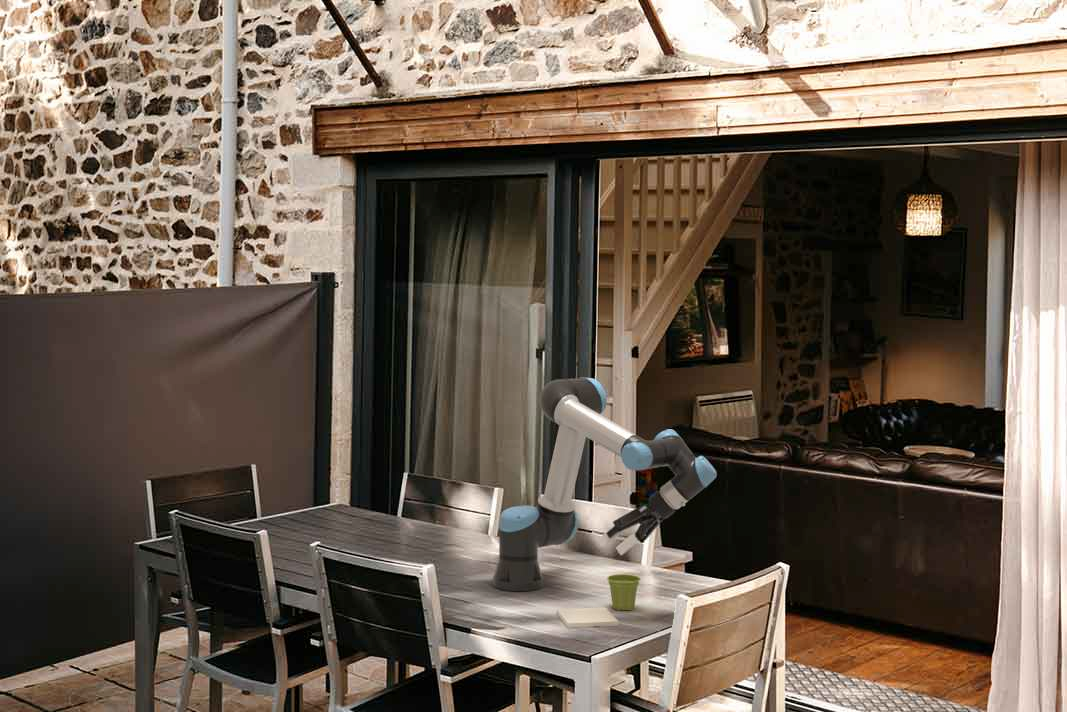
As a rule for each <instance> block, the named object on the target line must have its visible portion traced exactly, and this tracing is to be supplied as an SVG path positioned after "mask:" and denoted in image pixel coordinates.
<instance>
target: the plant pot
mask: <svg viewBox="0 0 1067 712" xmlns="http://www.w3.org/2000/svg"><path fill="white" fill-rule="evenodd" d="M606 579H607V581H608V584H609V589H610V595H611V596H610V597H611V606H612V609H614V610H616V611H621V610H622V611H625V610H628V611H631V610H632V611H633V610H634V608H635V605H636V597H637V590H638V586H639V583H640V581H641V578H640V577H639V576H638V575H635V574H626V573H624V574H623V573H622V574H620V573H618V574H611V575H608V576H607V577H606Z"/></svg>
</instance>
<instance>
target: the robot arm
mask: <svg viewBox="0 0 1067 712" xmlns="http://www.w3.org/2000/svg"><path fill="white" fill-rule="evenodd" d="M607 397H608V396H607V393H606V390H604V386H603V384H602V383H600V381H598V380H597V379H596V378H592V377H583V376H582V377H578V378H575V377H574V378H565V379H563V378H562V379H554V380H552V381H549V382H548V383H547V384H546V385H544V387H543V388H542V389H541V391H540V394H539V401H538V403H539V407H540V410H541V411H542V413H543V415H544V416H545V417H546V418H548V419H549V420H550V421H551V422H554V424H557V425H558V430H557V435H556V440H555V445H554V449H553V454H552V459H551V462H550V466H549V471H548V475H547V476H548V477H547V481H546V485H545V489H544V494H542V495H541V496H539V498H538V499H537V503H536V507H535V506H532V505H520V506H519V505H517V506H511V507H509V508H506V509H504V510H503V511H502V512H501V514H500V517H499V524H498V528H499V529H498V530H499V539H498V541H499V542H498V543H499V544H498V545H499V549H498V550H499V551H498V557H499V558H498V562H497V566H496V569H495V571H494V575H493V578H492V579H493V580H492V585H493V587H494V588H496V589H499V590H502V591H509V592H510V591H511V592H529V591H535V590H539V589H541V588H542V587H543V586H544V584H543V583H544V577H543V574H542V571H541V567H540V563H539V559H538V555H539V553H538V552H539V551H538V550H539V548H543V547H544V548H546V547H549V546H553V545H554V546H557V545H558V546H559V545H562V544H564V543H567V542H569V541H570V540H572V539H573V538H574V537H576V534H577V532H578V529H579V522H580V521H579V520H580V519H579V518H578V513H577V511H576V508H575V505H574V502H573V501H572V498H573V495H574V491H575V486H576V481H577V477H578V473H579V469H580V464H581V461H582V455H583V451H584V447H585V443H586V438H587V439H589V440H591V441H592V442H594V443H596V444H597V445H599V446H601V447H603V448H605V449H606V450H608V451H609V452H612V453H613V454H614V455H616V456H617V457H620V458H621V461H622V463H623V464H624V466H625V468H626V469H628V470H630V471H644V470H648V469H653V468H654V469H655V468H660V467H668V468H669V469H670V471H672V474H674V475H675V476H674V477H673V478H671V479H670V480H669V481H667V482H666V483H665V484H663V485H662V486H661V487H660V488H659V490H657V491H655V492H653V494H652V495H651V496H649V497H648V501H649V505H646V504H645V503H642V504H640V505H639V506H638V507H636V508H634V509H632V510H631V511H629V512H627V513H626V514H623V515H622V516H620V517H618V518H617V519H615V520H613V522H612V523H613V526H612V527H610V529H608V530H607V531H606V532H604V533H603V534H602V535H601V536H600V537H598V538H597V543H598V544H599V545H600V547H601V548H602V549H604V548H605V547H606V546H607V545H609V544H610V543H611V542H613V540H615V539H616V538H617V537H618V536H620V535H621V534H622V532H623V531H625V530H627V529H630V528H632V527H634V526H637V525H639V526H638V528H637V530H636V531H635V533H632V534H630V535H629V536H628V537H627V538H625V539H624V540H622V542H621V543H619V544H618V545H617V546H616V547H615V549H616V551H617V552H618V554H619V555H620V556H623V555H624V554H625V553H627V552H628V551H629V550H630V549H632V547H634V546H636V544H638V543H639V542H640V543H641V544H643V543H645V541H646V540H647V539H648V538H649V537H650V536H651V535H652V533H654V532H655V530H656V529H657V527H658V526H659V525H660V524H661V523H662V522H663V521H664V520H666V519H668V518H670V516H672V515H673V514H674V513H676V510H679V509H680V508H681V507H685V506H686V503H688V502H689V501H691V499H693V498H694V497H695V496H697V495H698V494H699V493H700V492H702V491H703V489H706V488H707V487H708V486H709V485H710V484H711V483H712V482H713V481H714V480H715V479H716V478H717V476H718V475H717V470H716V469H715V468H714V467H713V465H712V464H711V463H710V462H709V460H708V459H707V458H706V457H704V455H699V456H697V457H696V456H695V454H694V453H693V452H692V450H691V449H690V448H689V447H688V445H687V444H686V443H685V441H684V440H683V438H682V437H681V436H680V435H679V434H678V433H677V431H675V430H674V429H669V428H668V429H665V430H663V431H662V430H661V432H659V433H658V434H657V435H656V436H655V437H654V439H652V440H645V439H644V438H642V437H641V436H639V435H637V434H635V433H633V432H632V431H630V430H628V429H626V428H625V427H623V426H621V425H619V424H618V423H616V422H614V421H613V420H611V419H609V418H607V417H606V416H604V415H602V413H603V412H605V410H606V408H607V404H608V403H607V402H608V398H607Z"/></svg>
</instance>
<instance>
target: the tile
mask: <svg viewBox="0 0 1067 712" xmlns="http://www.w3.org/2000/svg"><path fill="white" fill-rule="evenodd" d="M556 615H557V616H558V617H559V618H560V620H561V621H562V622H563V624H564V625H565V626H566V627H567V628H571V629H572V628H573V629H575V628H593V627H594V626H600V627H618V626H619V620H618V619H617V618H616V617H615V616H614V615H613V614H612V613H611V612H610V610H609V609H608V608H606V607H585V608H583V607H581V608H578V607H577V608H560V609H559V608H557V609H556Z"/></svg>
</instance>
